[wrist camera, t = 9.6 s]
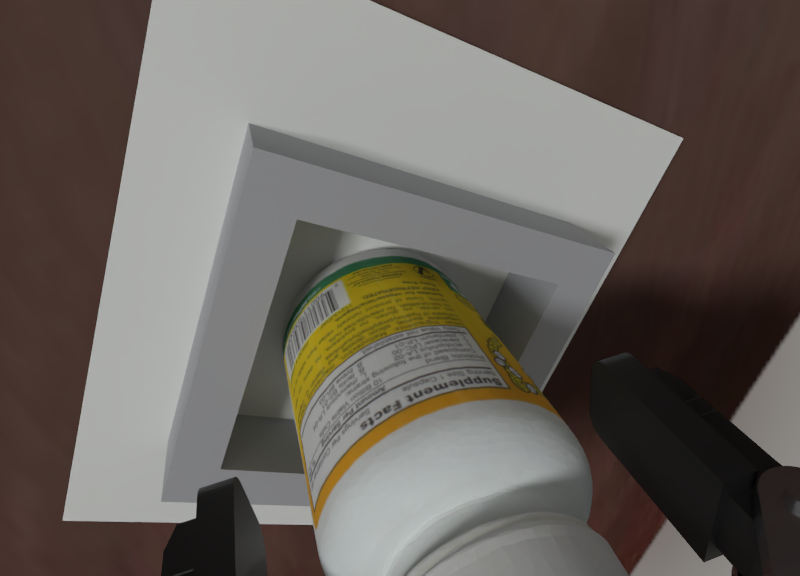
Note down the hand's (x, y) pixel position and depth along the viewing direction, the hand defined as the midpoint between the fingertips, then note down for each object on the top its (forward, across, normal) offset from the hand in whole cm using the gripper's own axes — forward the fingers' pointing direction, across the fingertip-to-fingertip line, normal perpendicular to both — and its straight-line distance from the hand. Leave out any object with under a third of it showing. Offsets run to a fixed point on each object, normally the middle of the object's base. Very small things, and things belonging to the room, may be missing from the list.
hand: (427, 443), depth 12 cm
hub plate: (+6, 0, 0) cm, 6 cm away
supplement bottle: (+5, 0, 0) cm, 5 cm away
